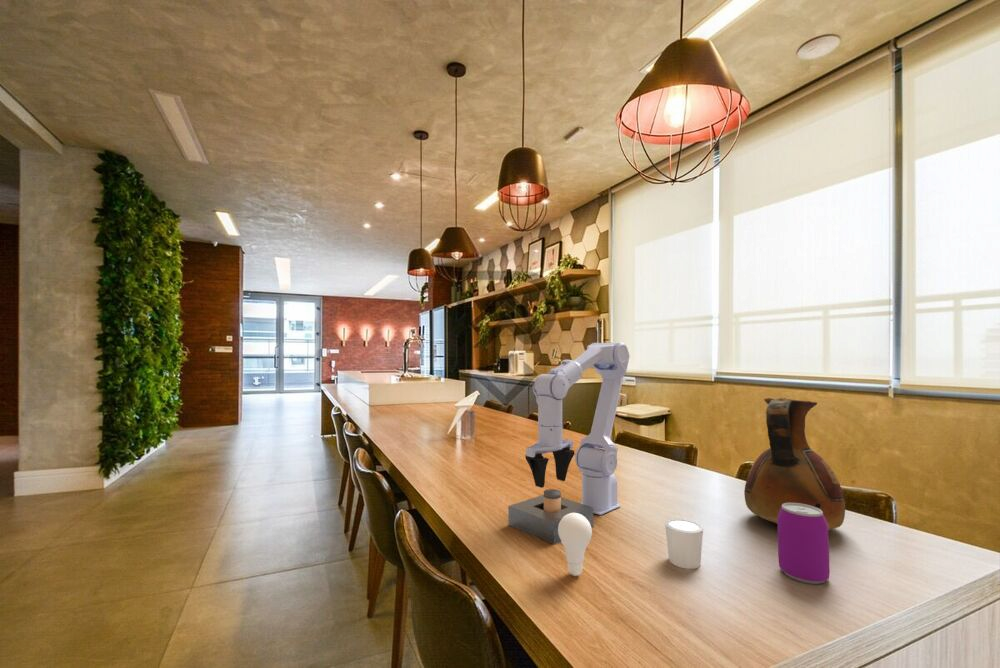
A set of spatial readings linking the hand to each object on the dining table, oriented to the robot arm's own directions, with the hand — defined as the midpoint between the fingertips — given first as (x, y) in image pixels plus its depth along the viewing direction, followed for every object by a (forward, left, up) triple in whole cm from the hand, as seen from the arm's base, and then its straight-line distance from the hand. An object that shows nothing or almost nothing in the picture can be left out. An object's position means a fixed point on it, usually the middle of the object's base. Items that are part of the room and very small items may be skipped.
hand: (550, 483), depth 103 cm
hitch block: (0, 0, -10) cm, 10 cm away
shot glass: (-6, +29, -10) cm, 31 cm away
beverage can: (-17, +46, -10) cm, 50 cm away
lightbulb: (+14, +18, -10) cm, 25 cm away
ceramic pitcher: (-43, +38, -10) cm, 58 cm away
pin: (0, 0, -10) cm, 10 cm away
